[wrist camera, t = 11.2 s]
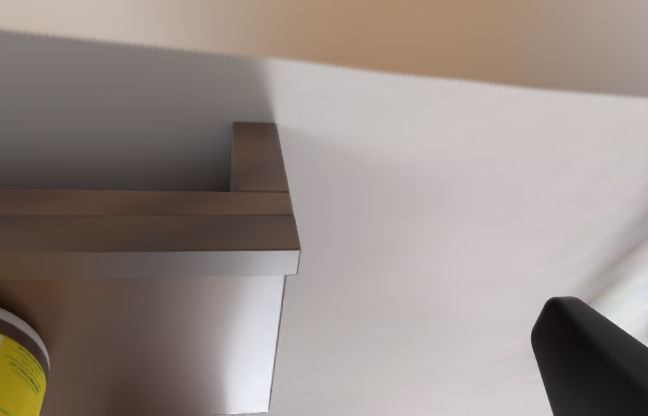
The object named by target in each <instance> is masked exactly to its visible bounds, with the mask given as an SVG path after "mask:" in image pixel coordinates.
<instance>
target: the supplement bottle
mask: <svg viewBox="0 0 648 416" xmlns="http://www.w3.org/2000/svg"><path fill="white" fill-rule="evenodd" d="M49 370H50V363H49V356H48V352H47V349H46V347H45V345H44V343H43V341H42V340H41V338H40V337H39V335H38V334H37V333H36V332H35V331H34V330H33V329H32V327H30V326H29V325H28V324H27V323H26V322H25V321H23V320H22V319H20V318H19V317H17V316H16V315H14V314H12V313H10V312H8V311H6V310H4V309H2V308H0V416H39V415H40V412H41V407H42V404H43V399H44V394H45V390H46V386H47V383H48V376H49Z"/></svg>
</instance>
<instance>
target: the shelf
mask: <svg viewBox="0 0 648 416" xmlns="http://www.w3.org/2000/svg"><path fill="white" fill-rule="evenodd" d="M300 253H301V247H300V242H299V237H298V231H297V226H296V221H295V217H294V213H293V208H292V203H291V198H290V194H289V186H288V181H287V176H286V171H285V166H284V161H283V156H282V151H281V146H280V140H279V135H278V130H277V125H276V124H275V123H248V122H233V126H232V150H231V174H230V192H195V191H108V190H21V189H0V308H2V309H4V310H6V311H8V312H10V313H12V314H14V315H16V316H17V317H19V318H20V319H22V320H23V321H25V322H26V323H27V324H28V325H29V326H30V327H32V329H33V330H34V331H35V332H36V333H37V334H38V335H39V337H40V338H41V340H42V341H43V343H44V345H45V347H46V349H47V352H48V356H49V363H50V370H49V376H48V383H47V386H46V390H45V394H44V399H43V404H42V407H41V412H40V415H39V416H218V415H233V414H248V413H263V412H268V411H269V408H270V400H271V392H272V385H273V377H274V369H275V361H276V353H277V345H278V338H279V330H280V322H281V314H282V306H283V299H284V291H285V283H286V275H297V273H298V267H299V260H300Z"/></svg>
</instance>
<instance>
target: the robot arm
mask: <svg viewBox="0 0 648 416" xmlns="http://www.w3.org/2000/svg"><path fill="white" fill-rule="evenodd" d="M531 344H532V348H533V351H534V354H535V358H536V361H537V364H538V367H539V370H540V374H541V377H542V380H543V383H544V387H545V390H546V393H547V396H548V399H549V403H550V406H551V409H552V412H553V415H554V416H648V347H646V346H645V345H644V344H642V343H641V342H639V341H638V340H637V339H635V338H634V337H632V336H631V335H629V334H628V333H627V332H625V331H624V330H622V329H621V328H620V327H618V326H617V325H615V324H614V323H612V322H611V321H610V320H608V319H607V318H605V317H604V316H603V315H601V314H600V313H598V312H597V311H595V310H594V309H593V308H591V307H590V306H588V305H587V304H586V303H584V302H583V301H581V300H580V299H578V298H576V297H571V296H568V297H552V298H550V299H549V300H547V302H546V303H545V305H544V307H543V309H542V311H541V313H540V315H539V317H538V319H537V321H536V323H535V325H534V327H533V329H532V333H531Z"/></svg>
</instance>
